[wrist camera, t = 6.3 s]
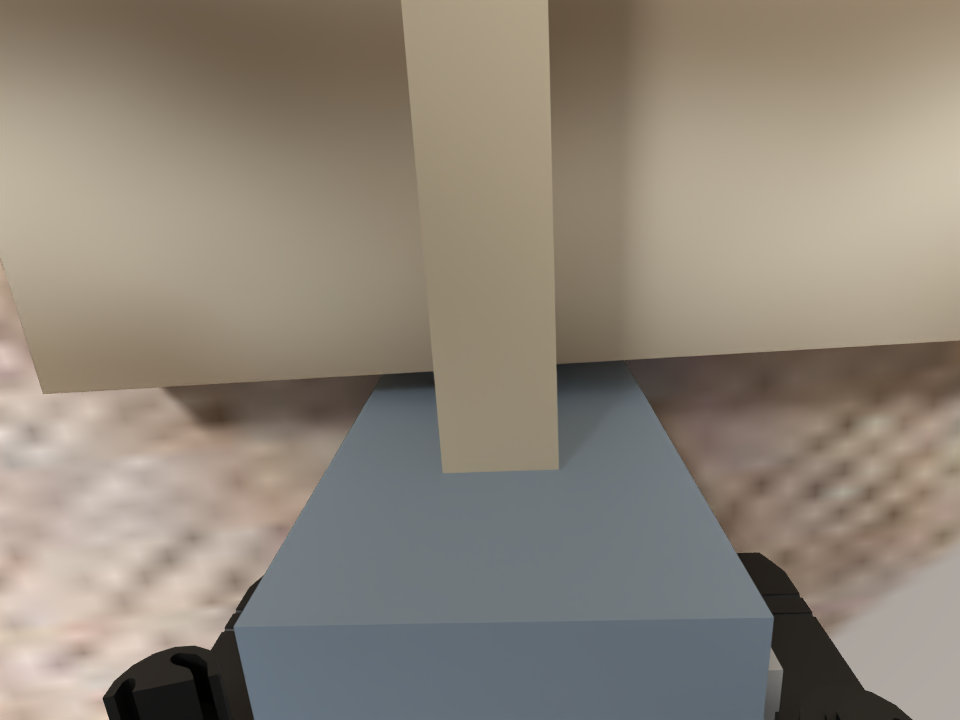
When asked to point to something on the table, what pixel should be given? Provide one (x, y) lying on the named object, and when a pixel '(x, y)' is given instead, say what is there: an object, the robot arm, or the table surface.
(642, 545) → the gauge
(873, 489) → the table surface
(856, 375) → the table surface
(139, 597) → the table surface
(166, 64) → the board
